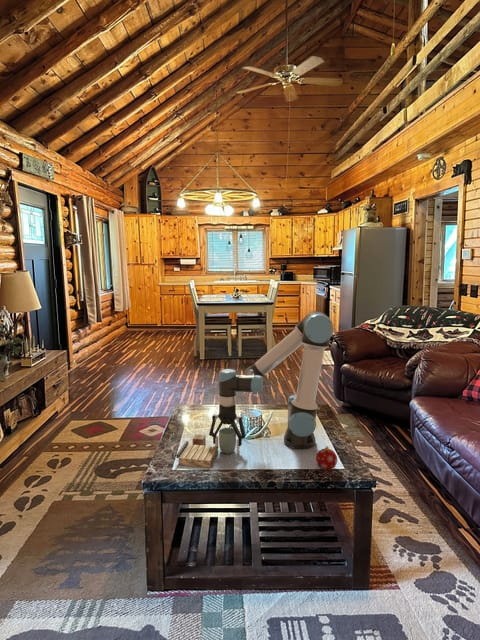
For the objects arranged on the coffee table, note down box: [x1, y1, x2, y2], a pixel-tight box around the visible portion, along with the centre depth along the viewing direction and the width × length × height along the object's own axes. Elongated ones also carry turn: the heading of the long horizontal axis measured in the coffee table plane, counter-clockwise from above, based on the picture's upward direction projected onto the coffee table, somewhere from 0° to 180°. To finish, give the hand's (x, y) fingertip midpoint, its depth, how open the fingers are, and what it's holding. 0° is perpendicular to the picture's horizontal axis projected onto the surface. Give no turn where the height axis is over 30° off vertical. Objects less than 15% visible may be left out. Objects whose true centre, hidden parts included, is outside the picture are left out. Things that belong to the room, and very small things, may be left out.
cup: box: [218, 427, 237, 454], centre depth 187 cm, size 8×8×10 cm
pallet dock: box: [175, 440, 219, 468], centre depth 180 cm, size 15×14×4 cm
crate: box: [192, 433, 207, 446], centre depth 192 cm, size 5×5×5 cm
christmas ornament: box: [315, 445, 338, 471], centre depth 171 cm, size 9×9×10 cm
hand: (227, 451), depth 187 cm, fingers open, 9 cm apart
